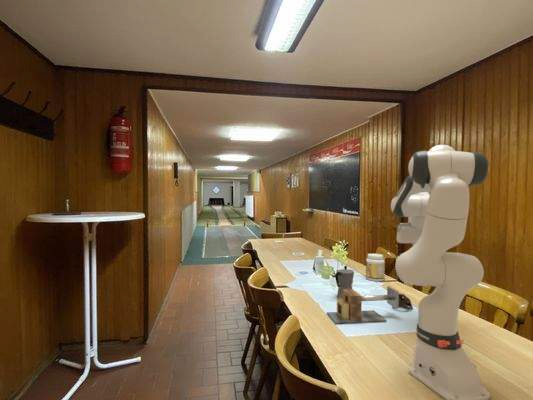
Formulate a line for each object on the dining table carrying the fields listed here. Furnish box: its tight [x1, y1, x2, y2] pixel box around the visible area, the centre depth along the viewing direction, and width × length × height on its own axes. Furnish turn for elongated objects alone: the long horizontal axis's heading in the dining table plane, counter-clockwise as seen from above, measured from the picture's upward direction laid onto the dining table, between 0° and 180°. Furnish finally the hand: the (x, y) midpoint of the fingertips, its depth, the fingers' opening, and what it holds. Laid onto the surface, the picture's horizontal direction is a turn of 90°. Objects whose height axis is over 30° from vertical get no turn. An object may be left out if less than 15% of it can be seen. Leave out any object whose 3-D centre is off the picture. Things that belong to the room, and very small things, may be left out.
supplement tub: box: [365, 253, 386, 282], centre depth 210 cm, size 12×12×17 cm
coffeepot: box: [334, 265, 355, 299], centre depth 171 cm, size 15×9×18 cm, turn 129°
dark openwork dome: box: [391, 293, 414, 310], centre depth 157 cm, size 12×10×8 cm
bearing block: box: [326, 288, 387, 325], centre depth 143 cm, size 24×12×12 cm, turn 97°
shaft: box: [361, 286, 400, 310], centre depth 144 cm, size 20×8×8 cm, turn 97°
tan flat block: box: [336, 297, 349, 320], centre depth 142 cm, size 3×7×7 cm, turn 7°
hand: (418, 252), depth 141 cm, fingers closed
